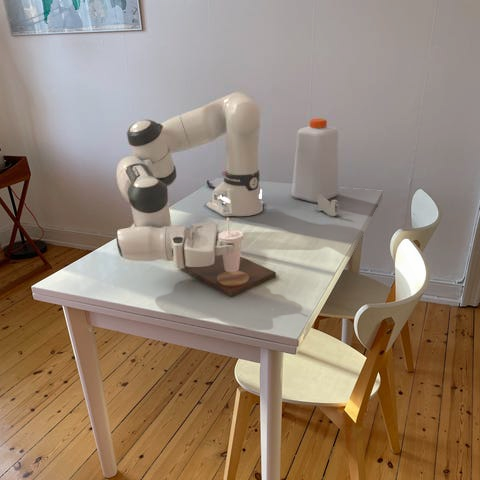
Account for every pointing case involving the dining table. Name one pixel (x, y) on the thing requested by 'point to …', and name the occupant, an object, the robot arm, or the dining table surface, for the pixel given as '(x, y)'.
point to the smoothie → (234, 238)
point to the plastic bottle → (316, 162)
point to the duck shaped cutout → (328, 206)
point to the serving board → (231, 275)
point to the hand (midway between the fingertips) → (234, 242)
